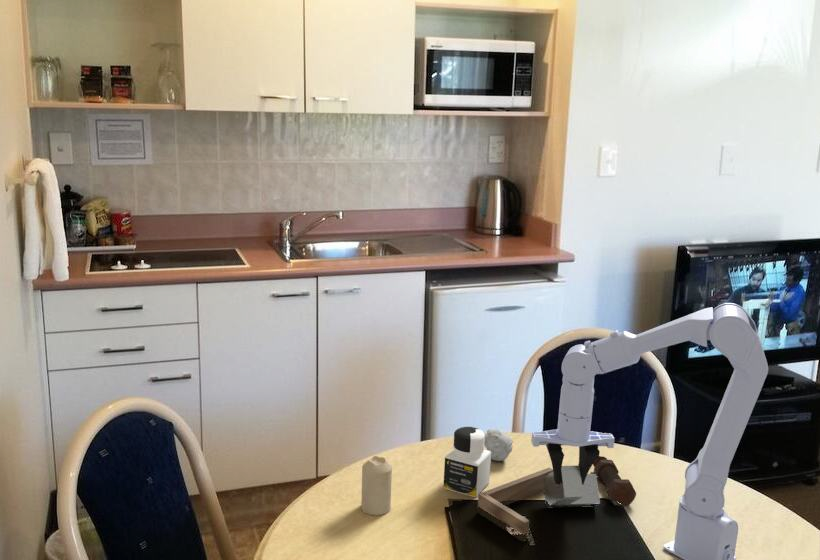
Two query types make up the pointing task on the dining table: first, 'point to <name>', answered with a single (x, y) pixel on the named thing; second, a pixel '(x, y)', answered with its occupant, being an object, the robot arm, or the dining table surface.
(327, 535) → the dining table surface
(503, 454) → the grey rock
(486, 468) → the medicine bottle
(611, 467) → the bolt
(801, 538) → the dining table surface
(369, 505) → the candle
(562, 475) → the bracket
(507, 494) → the corner jig
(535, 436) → the robot arm
